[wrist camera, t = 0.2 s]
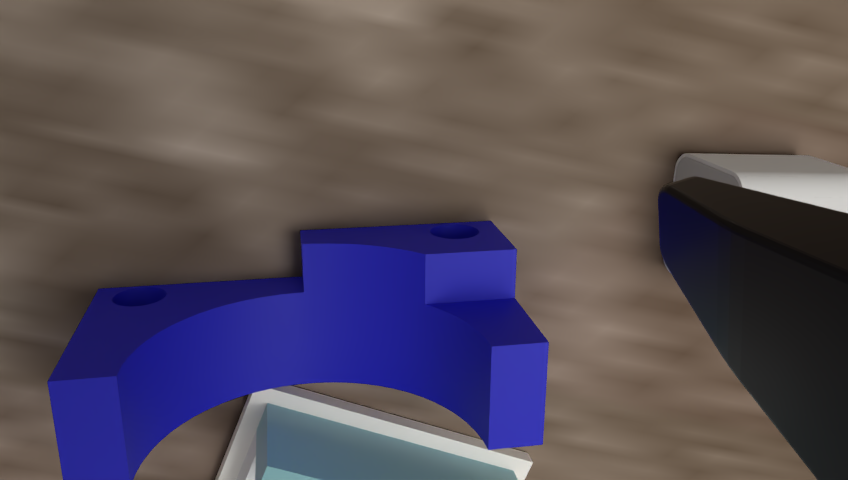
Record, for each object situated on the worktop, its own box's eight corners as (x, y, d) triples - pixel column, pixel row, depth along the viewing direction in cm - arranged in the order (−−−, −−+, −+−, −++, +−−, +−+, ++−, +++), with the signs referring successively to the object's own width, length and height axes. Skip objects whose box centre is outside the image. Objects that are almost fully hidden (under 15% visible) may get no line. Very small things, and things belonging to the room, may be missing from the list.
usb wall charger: (677, 149, 26) (747, 177, 22) (863, 152, 27) (959, 179, 23) (659, 265, 27) (723, 310, 23) (839, 263, 28) (926, 305, 24)
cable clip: (489, 219, 25) (552, 287, 20) (485, 347, 27) (542, 444, 21) (93, 239, 23) (37, 321, 18) (111, 376, 25) (65, 493, 19)
